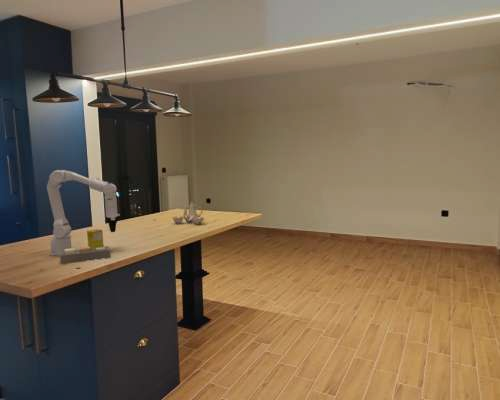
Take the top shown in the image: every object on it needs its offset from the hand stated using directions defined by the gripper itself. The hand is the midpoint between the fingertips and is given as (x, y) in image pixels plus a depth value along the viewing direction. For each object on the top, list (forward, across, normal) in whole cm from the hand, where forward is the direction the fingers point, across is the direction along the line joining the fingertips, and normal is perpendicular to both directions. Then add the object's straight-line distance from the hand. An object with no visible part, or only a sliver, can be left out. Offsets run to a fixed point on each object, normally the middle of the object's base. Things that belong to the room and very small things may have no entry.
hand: (112, 231), depth 202 cm
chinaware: (+11, +65, -60) cm, 89 cm away
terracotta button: (+8, -10, +14) cm, 19 cm away
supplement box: (+11, +8, +9) cm, 16 cm away
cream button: (+8, -10, +21) cm, 25 cm away
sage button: (+9, -10, +7) cm, 15 cm away
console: (+10, -10, +14) cm, 20 cm away
